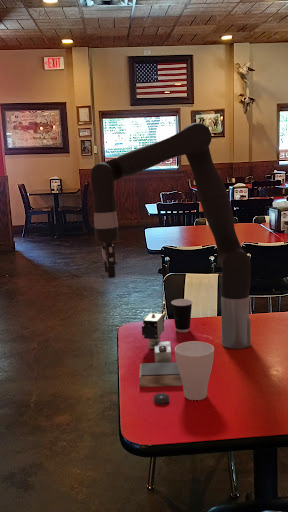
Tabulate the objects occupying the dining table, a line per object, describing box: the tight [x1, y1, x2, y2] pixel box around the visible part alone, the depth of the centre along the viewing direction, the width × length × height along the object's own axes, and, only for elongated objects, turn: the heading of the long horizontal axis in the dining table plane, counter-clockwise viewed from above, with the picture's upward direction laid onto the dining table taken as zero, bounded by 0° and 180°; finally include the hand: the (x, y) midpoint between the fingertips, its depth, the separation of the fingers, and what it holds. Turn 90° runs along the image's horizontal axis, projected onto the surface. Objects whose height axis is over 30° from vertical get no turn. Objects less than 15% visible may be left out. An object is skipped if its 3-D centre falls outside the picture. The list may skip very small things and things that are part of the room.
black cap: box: [153, 392, 170, 406], centre depth 129 cm, size 4×4×2 cm
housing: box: [154, 340, 172, 363], centre depth 154 cm, size 9×5×6 cm, turn 179°
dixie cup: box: [170, 298, 193, 333], centre depth 181 cm, size 8×8×11 cm
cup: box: [174, 340, 215, 401], centre depth 130 cm, size 10×10×14 cm
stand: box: [138, 361, 183, 388], centre depth 142 cm, size 12×9×3 cm
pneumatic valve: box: [141, 312, 165, 350], centre depth 165 cm, size 6×12×12 cm, turn 163°
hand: (110, 274), depth 160 cm, fingers open, 8 cm apart
